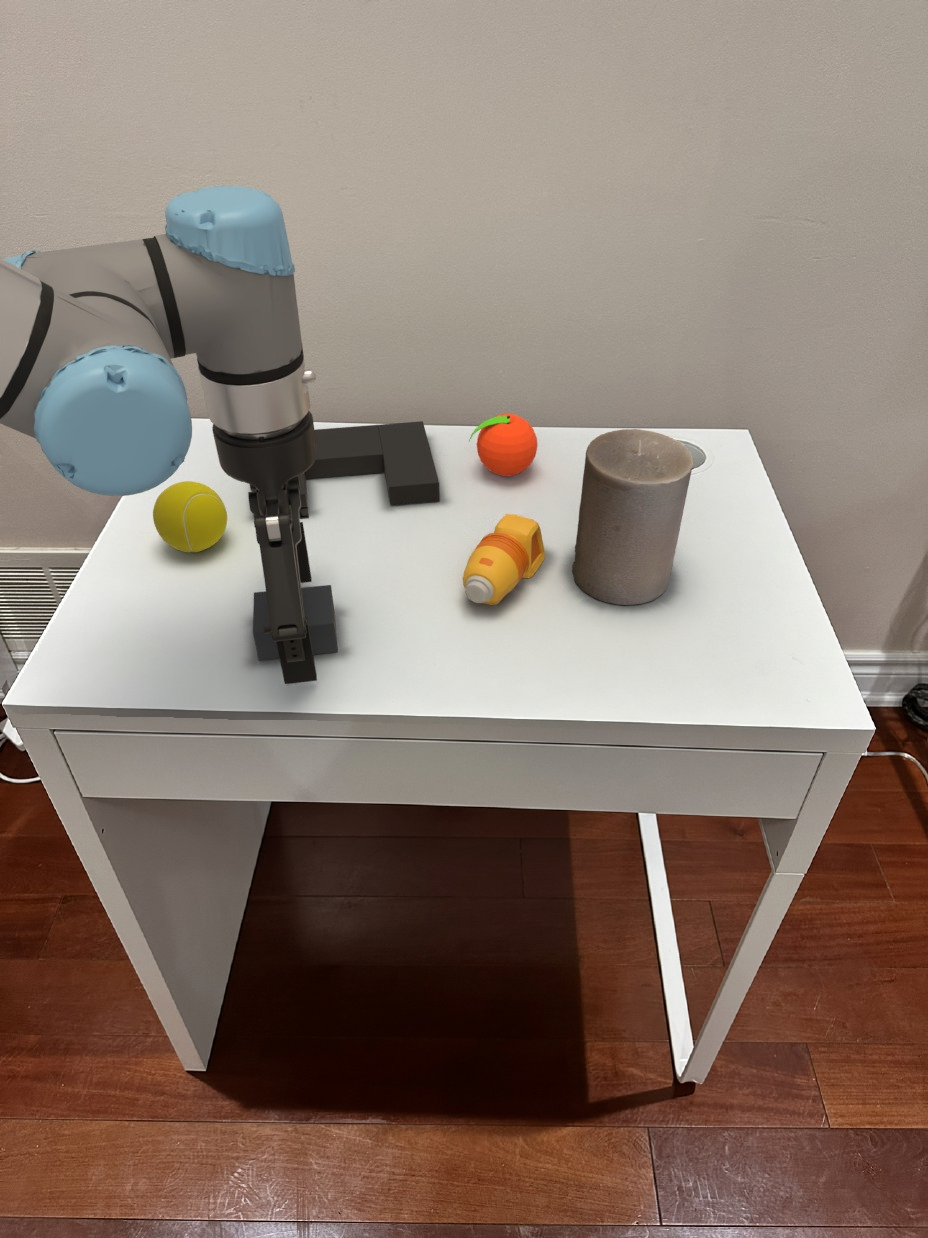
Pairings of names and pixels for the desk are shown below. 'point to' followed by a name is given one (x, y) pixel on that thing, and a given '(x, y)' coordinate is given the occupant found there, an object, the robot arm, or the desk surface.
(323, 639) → the dark grey rectangular block
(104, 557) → the desk surface
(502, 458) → the clementine
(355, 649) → the desk surface
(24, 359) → the robot arm
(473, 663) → the desk surface
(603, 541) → the pillar candle
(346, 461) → the black u-shaped block
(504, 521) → the yellow toy drill
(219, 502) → the tennis ball
